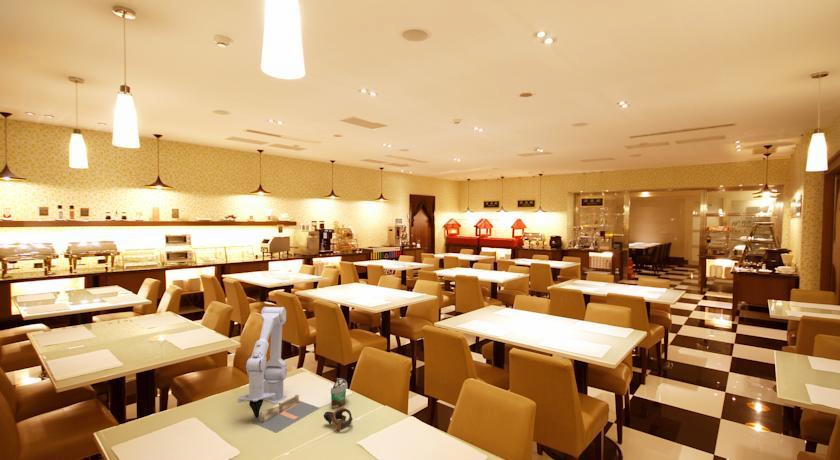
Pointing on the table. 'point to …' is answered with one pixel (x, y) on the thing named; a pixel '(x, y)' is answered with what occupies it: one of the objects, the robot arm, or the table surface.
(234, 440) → the table surface
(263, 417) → the bar
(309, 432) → the table surface
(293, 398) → the fixed fence section
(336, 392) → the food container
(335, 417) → the pottery mug
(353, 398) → the table surface
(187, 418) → the table surface
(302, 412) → the mat
